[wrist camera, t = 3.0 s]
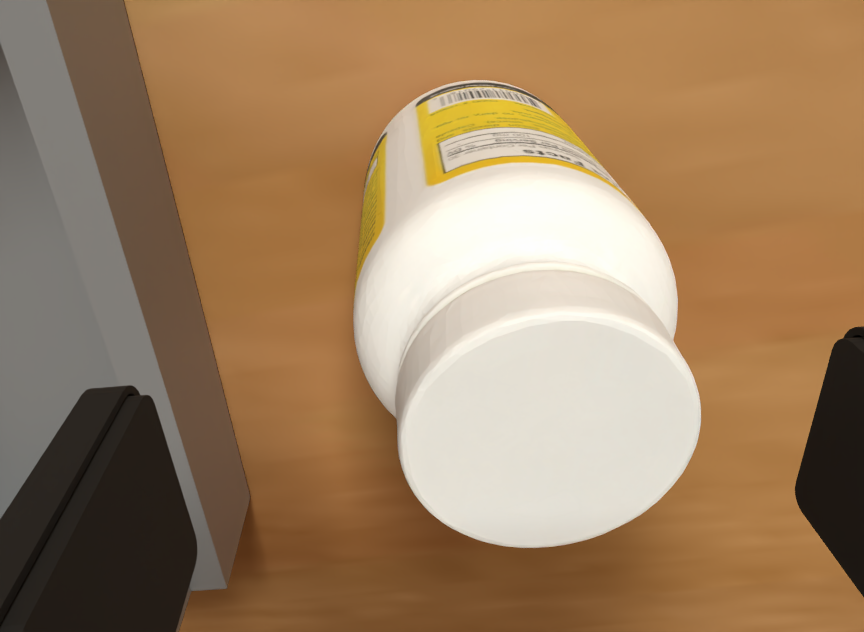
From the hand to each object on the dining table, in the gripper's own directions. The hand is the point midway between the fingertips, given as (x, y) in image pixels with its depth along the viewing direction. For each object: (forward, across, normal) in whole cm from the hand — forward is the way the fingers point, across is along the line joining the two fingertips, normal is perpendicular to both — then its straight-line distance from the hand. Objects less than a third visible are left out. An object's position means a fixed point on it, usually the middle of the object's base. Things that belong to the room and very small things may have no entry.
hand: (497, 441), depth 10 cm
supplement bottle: (+9, -1, -1) cm, 9 cm away
